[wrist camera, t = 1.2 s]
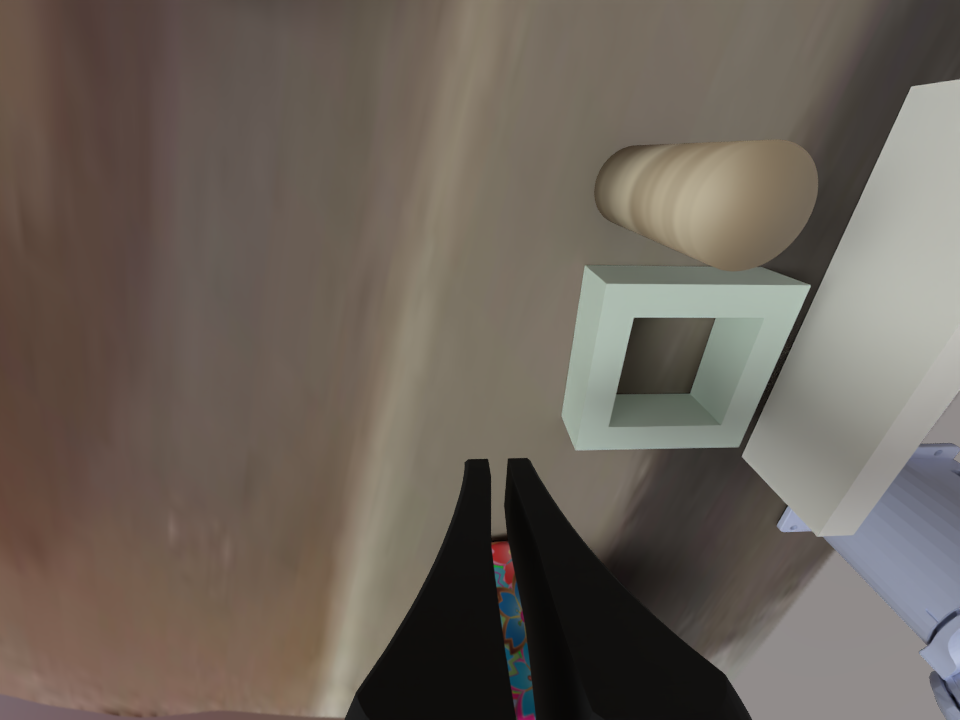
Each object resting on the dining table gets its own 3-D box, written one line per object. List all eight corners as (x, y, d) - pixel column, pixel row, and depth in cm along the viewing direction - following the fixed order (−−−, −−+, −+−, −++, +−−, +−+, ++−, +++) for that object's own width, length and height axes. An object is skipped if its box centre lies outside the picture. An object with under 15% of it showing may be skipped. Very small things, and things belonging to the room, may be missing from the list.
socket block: (762, 267, 19) (810, 285, 16) (706, 413, 23) (738, 447, 21) (584, 265, 19) (606, 283, 16) (561, 415, 23) (575, 450, 20)
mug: (564, 525, 28) (620, 716, 18) (551, 600, 32) (590, 785, 23) (395, 532, 27) (364, 734, 18) (406, 608, 31) (385, 801, 22)
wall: (956, 88, 16) (1204, 56, 11) (770, 455, 25) (853, 535, 20) (911, 86, 16) (1141, 52, 10) (741, 456, 25) (817, 536, 20)
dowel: (674, 146, 16) (840, 141, 9) (656, 225, 18) (787, 272, 11) (601, 144, 16) (714, 137, 9) (589, 223, 18) (678, 270, 11)
